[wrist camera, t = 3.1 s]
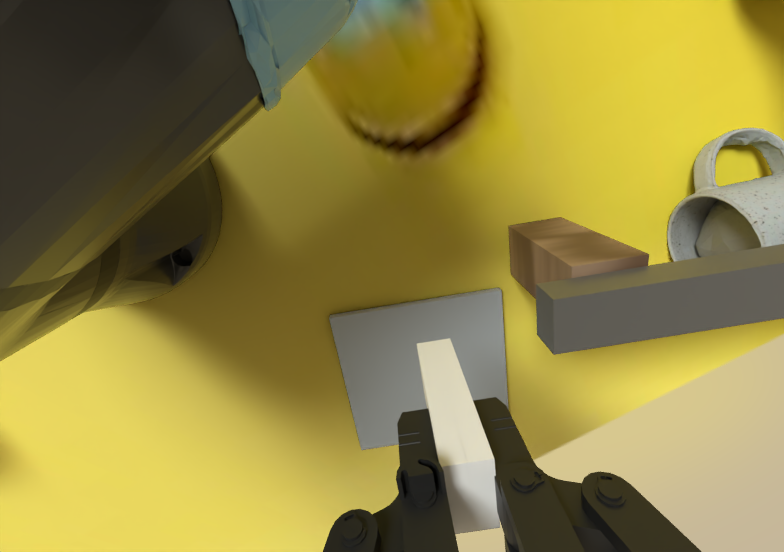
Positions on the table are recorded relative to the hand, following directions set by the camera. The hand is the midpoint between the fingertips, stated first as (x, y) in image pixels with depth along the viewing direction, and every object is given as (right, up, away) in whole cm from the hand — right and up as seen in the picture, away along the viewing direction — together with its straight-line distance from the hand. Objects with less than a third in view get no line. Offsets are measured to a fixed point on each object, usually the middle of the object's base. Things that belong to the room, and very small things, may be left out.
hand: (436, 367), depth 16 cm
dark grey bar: (+16, +4, +3) cm, 17 cm away
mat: (+1, -4, +16) cm, 17 cm away
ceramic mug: (+23, +10, +12) cm, 27 cm away
